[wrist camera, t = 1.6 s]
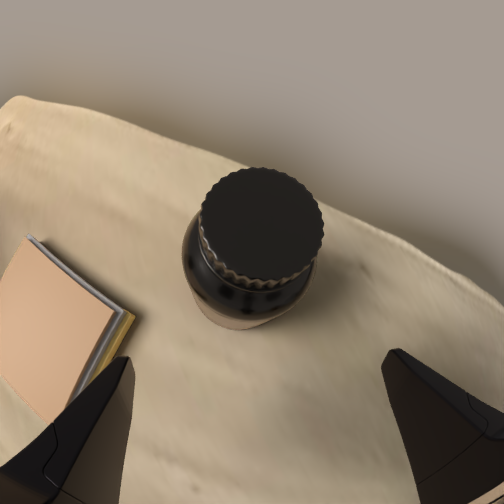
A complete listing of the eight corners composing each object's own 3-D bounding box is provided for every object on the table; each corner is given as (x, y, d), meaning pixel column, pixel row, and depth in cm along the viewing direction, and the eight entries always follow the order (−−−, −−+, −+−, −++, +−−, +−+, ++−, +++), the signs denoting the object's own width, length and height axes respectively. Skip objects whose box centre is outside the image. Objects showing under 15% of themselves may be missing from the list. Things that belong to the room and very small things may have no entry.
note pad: (75, 433, 15) (61, 441, 12) (-12, 344, 15) (-28, 341, 13) (135, 316, 19) (125, 311, 17) (39, 241, 20) (25, 230, 17)
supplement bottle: (189, 249, 22) (172, 148, 11) (272, 242, 23) (325, 146, 12) (196, 336, 20) (177, 319, 8) (286, 325, 21) (368, 294, 10)
